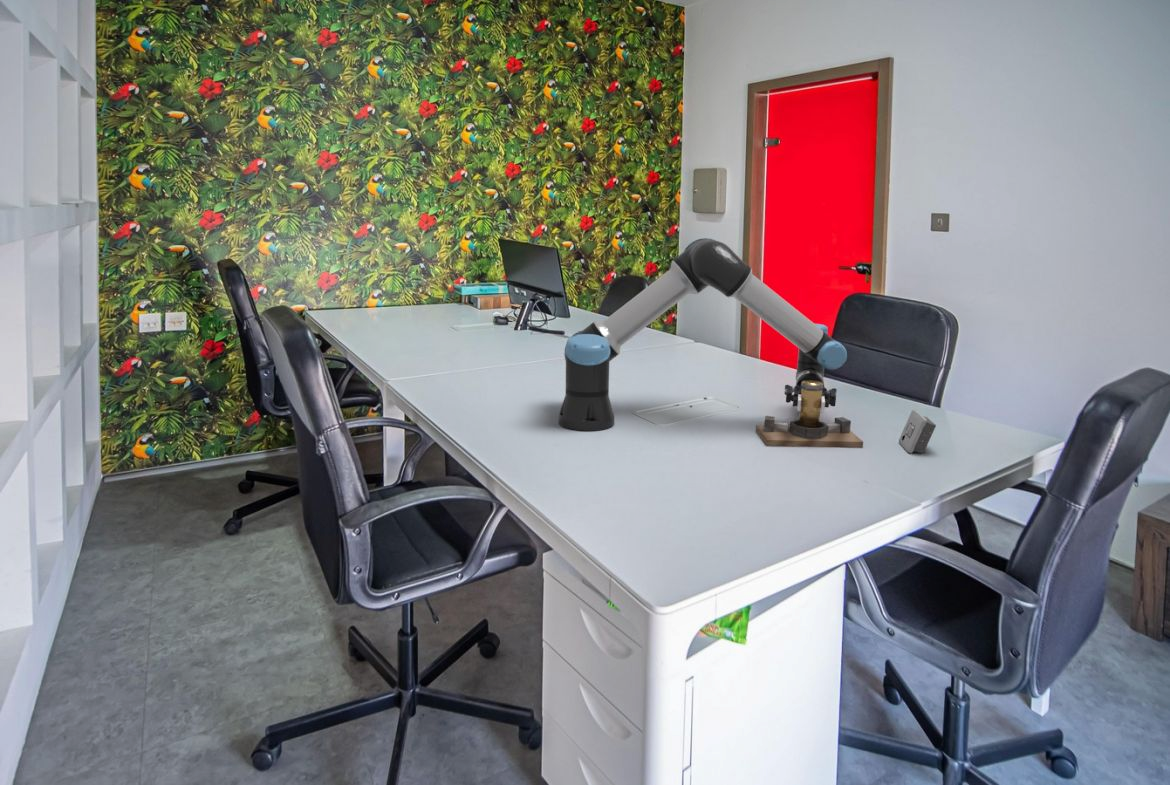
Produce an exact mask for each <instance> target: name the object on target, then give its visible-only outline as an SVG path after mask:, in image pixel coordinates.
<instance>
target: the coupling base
mask: <svg viewBox="0 0 1170 785" xmlns="http://www.w3.org/2000/svg"><path fill="white" fill-rule="evenodd" d="M764 417H765V418H764V421H763V425H759V424H758V425H755V432H756V433H757V435H758V436H759V437H760V438H761V440H762V442H763V443H764V444H765V446H766V447H801V448H802V447H803V448H804V447H805V448H807V447H809V448H811V447H815V448H816V447H817V448H861V449H862V448H863V447H864V440H862V439H861V438H860V437H858V436H857V435H856V434H855V433H854V431H852V430H851V422H852V420H850V419H847V418H845V417H843V416H841V417H834V422H833V423H831V422H829V423H825V422H824V421H820V420H819V428H805V427H801V426H799V418H797V419H794V420H792V421H790V422H789V423H788V422H779V421H778V422H777V421H776V420H775V418H776V417H775V416H774V415H773V416H771V415H765V416H764ZM788 424H789V425H788Z"/></svg>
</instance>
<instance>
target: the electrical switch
mask: <svg viewBox="0 0 1170 785" xmlns="http://www.w3.org/2000/svg"><path fill="white" fill-rule="evenodd" d="M936 427H937V425H936V424H935V423H934V422H933V421H932V420H931V419H930V418H929V417H928V416H924V415H923V414H921V413H920V412H919V411H918V410H916V409H912V410H911V412H910V414H909V416H908V419H907V421H906V423H905V425H904V428H903V429H902V432H901V434H900V437H899V439H898V443H899V445H900V446H901V447H902V448H903V449H904V450H905V451H906V452H907V453H909V454H913V452H915V453H920V454H924V452H925V451H926V449H927V447H928V444H929V442H930V440H931V438H932V435H933V434H934V431H935V430H936V429H935V428H936Z"/></svg>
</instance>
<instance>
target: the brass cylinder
mask: <svg viewBox="0 0 1170 785" xmlns="http://www.w3.org/2000/svg"><path fill="white" fill-rule="evenodd" d="M823 385H824V386H825V383H824V384H823V383H822V382H820V381H814V380H805V381H802V382H801V388H802V392H801V410H800V411H799V416H798V419H799V426H801V427H805V428H819V421H820V417H821V397H822V389H823Z"/></svg>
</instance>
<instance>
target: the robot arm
mask: <svg viewBox="0 0 1170 785" xmlns="http://www.w3.org/2000/svg"><path fill="white" fill-rule="evenodd" d="M707 287H711V288H713V289H715V290H717V291H719V292H720V293H721V294H723V295H724V296H725V297H727V298H734V299H736V300H737V301H738V302H739V303H741V304H742V305H743V306H744V307H746V308H747V309H748V310H749V311H751V312H752V313H754V315H756V316H757V317H759V319H761V320H763V322H764V323H766V324H767V325H768V326H770V327H771V328H772V329H774V331H776V332H777V333H779V334H780V335H781V336H783V337H784V338H785V339H787V340H788V341H789V342H790V343H792V344H793V345H794V346H796V348H798V352H797V353H798V354H797V355H798V356H797V365H796V372H795V385H794V387H793V385H790V384H785V385H784V395H785V403H791V402H792V407H796V410H797V412H800V410H801V392H802V388H801V382H802V381H805V380H814V381H820V382H822V383H823V384H824V385H823V389H822V397H821V408H820V414H821V413H822V414H824V413H825V408H830V406H831V407H836V404H837V403H836V401H837V400H836V399H837V390H838V388H835V387H834V388H829V389H827V388H826V387H825V382H824V378H825V377H824V375H825V369H827V370H829V371H831V370H832V371H833V370H838V369H839V368H841V367H842V366H843V365H844V364H845V363H846V361H847V358H848V351H847V349H846V347H845V346H844V345H843V344H842V343H841V342H839V341H838V340H835V339H834V338H832V337H831V336H830V335H829V333H828V328H829V327H828V326H826V324H825V325H824V324H821V323H814V322H813V321H812V320H810V319H809V318H808V317H807V316H805V315H804V314H803V313H801V312H800V311H799V310H798V309H796V308H795V307H794V306H793V305H791V304H790V303H789V302H788V301H786V300H785V299H784V298H782V296H780V295H779V294H778V293H776V291H774V290H773V289H772V288H770V287H769V286H768V285H767V284H765V283H764V282H763V281H762V280H760V278H758V277H757V276H756V275H754V274H753V269H752V268H751V266H749V264H747V263H745V261H744V260H742V259H741V258H740V257H739V256H738V255H737V253H735V252H734V250H733V249H731V247H730V246H728V245H727V244H725V243H724V242H721V241H720V240H719V241H718V240H716V239H713V238H710V237H709V238H708V237H703V238H699V239H698V238H697V239H695V240H693V241H692V242H690V243H689V244H688V245H687V246H686V247H685V249H684V250H683V252H682V253H680V254H679V255H678V256H676V257H675V258H674V259H672V260H671V264H670V268H669V270H667V271H666V272H664V274H662V275H661V276H660V277H658V278H657V279H655V280H654V281H653V282H652V283H651V284H649V285H648V286H647V287H645V288H644V289H642V291H640V292H639V293H637V295H635V296H634V297H632V299H630V300H629V301H627V302H626V303H625V304H624V305H623V306H621V307H619V309H617V310H615V312H613V313H612V314H611V315H609V316H608V317H606V319H604V320H603V321H597V320H596V321H593V322H592V323H591V324H589V325H588V326H587V327H585V328H583V329H581V330H580V331H577V332H575V333H573V334H572V335H570V337H569V338H568V339H567V341H566V342H565V343H566V344H565V347H564V353H563V354H564V359H565V396H564V398H563V402H562V404H561V407H560V410H559V413H558V424H559V425H560V426H561V427H562V428H563V427H564V428H565V429H569V430H574V431H588V432H589V431H600V430H601V431H602V430H606V429H610V428H612V427H613V426H614V425H615V413H614V410H613V407H612V403H611V399H610V392H609V390H610V362H611V361H612V360H613V359H615V358H616V357H617V356H619V354H620V352H621V347H622V346H623V345H624V344H626V343H627V342H628V341H630V339H632V338H633V337H634V336H636V335H637V334H638V333H640V332H642V330H644V329H646V327H647V326H649V325H651V324H652V323H653V322H654V321H655V320H656V319H658V318H659V317H661V316H662V315H663V314H664V313H666V312H667V311H669V309H671V308H672V307H674V306H675V305H676V304H677V303H679V302H680V301H681V300H683V299H684V298H685V297H687V296H688V295H689V294H692V295H698V294H699V293H700V292H701V293H702V291H703V290H704V289H706V288H707Z"/></svg>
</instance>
